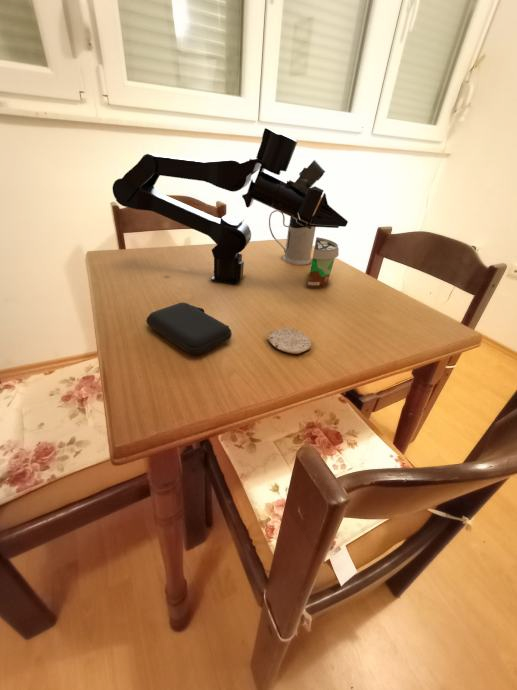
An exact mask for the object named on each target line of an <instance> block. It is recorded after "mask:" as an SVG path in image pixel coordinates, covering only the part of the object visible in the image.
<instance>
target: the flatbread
mask: <svg viewBox="0 0 517 690" xmlns="http://www.w3.org/2000/svg"><path fill="white" fill-rule="evenodd" d="M267 338H268V339H267V340H268V341H269V343H270V344H271V345H272V346H273V347H274V348H275V349H277V350H279V351H282V352H285V353H288V354H293V355H298V354H301V353H303V352H306V351H308V350H310V349H311V347H312V340H311V338H310V337H309V336H308V335H307V334H305V333H304V332H303V331H300V330H298V329H295V328H291V327H284V328H278V329H274V330H272V332H270V333H269V335H268V337H267Z"/></svg>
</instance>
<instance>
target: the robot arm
mask: <svg viewBox="0 0 517 690" xmlns="http://www.w3.org/2000/svg"><path fill="white" fill-rule="evenodd" d="M297 145H298V141H297V140H295V139H294V138H292V137H290V136H288V135H286V134H283V133H279V132H277V131H274V130H272V129H270V128H267V127H265V128H264V129H263V133H262V137H261V142H260V145H259V149H258V150H257V154H256V157H250V158H249V160H244V159H242V158H230V159H221V160H210V161H209V160H201V159H193V158H186V157H185V158H184V157H177V156H170V155H169V156H168V155H162V154H159V153H146V154H144V155H143V156H142V157H141V158H140V159H139V161H138V162H137V163H136V164H135V165H134V166H133V167H131V168H130V169H129V170H128V171H127V172H126V173H125V174H124V175H123V176H122V177H121V178H120V177H119V178H117V179H116V180H115V181H114V182H113V184H112V188H111V189H112V195H113V197H114V199H115V201H116V203H118V204H119V205H120V206H122V207H125V208H129V209H133V210H137V211H147V212H153V213H156V214H157V215H159V216H162V217H165V218H167V219H169V220H171V221H174V222H176V223H178V224H180V225H183V226H185V227H187V228H190V229H192V230H195V231H197V232H199V233H201V234H204V235H206V236H208V237H209V238H210V239H211V240H212V241H213V242H214V243H215V244H216V245H214V247H213V248H212V249H211V253H212V256H213V276H212V277H211V281H213V282H217V283H223V284H224V283H225V284H230V285H237V284H238V283H239V282H240V281H241V280H242V279H243V277H244V268H245V267H244V265H245V261H244V260H243V254H242V253H241V252H243V251H244V250H245V248H246V247H247V246H248V244H249V243H250V242H251V239H252V232H251V229H250V226H249V225H248V224H247V223H245V222H244V219H243V218H237V217H235V216H234V215H232V214H230V213H228V212H227V213H226V214H224V215H223V216H222V217H221V218H220V217H216V216H214V215H211V214H208V213H207V212H205V211H202V210H199V209H198V208H195V207H193V206H191V205H188V204H186V203H183V202H182V201H179V200H177V199H174V198H172V197H171V196H168V195H165V194H163V193H162V192H160V191H159V189H157V188H156V187H155V185H156V183H157V182H158V180H159V178H160V177H161V176H162V177H169V178H176V179H184V180H192V181H198V182H199V181H200V182H205V183H208V184H210V185H212V186H214V187H217V188H218V189H219V188H220V189H222V190H225V191H229V192H233V193H234V192H238V191H241V190H242V189H244V188H246V187H248V188H247V191H246V193H243V194H242V195H241V197H242V199H243V201H244V204H245V207H246V208H248V209H249V208H250V207H251V206H252V205H253V203H254V201H256V202H259V203H260V204H263V205H265V206H267V207H269V208H272V209H273V210H276V212H278V213H280V212H282V213H283V214H284V215H286V216H289V217H293V219H296V222H297V223H298V224H300V225H302V226H304V225H305V223H307V224H306V227H316V228H330V229H331V228H332V229H338V228H339V227H347V225H348V223H349V221H348V220H347V219H346V218H345V217H343V216H342V215H341V214H340V213H338V211H336V210H335V209H334V208H332V207H331V206H330V205H329V203H328V200H327V195H326V192H324V189H322V188H320V187H317V186H316V185H315V183H316V182H317V181H319V180H320V179H321V178H322V177H323V176H324V174H325V173H326V170H325V169H324V168H323V167H322V166H321V165H320V163H318V161H316V159H313V160H312V162H311V163H310V164H309V165H308V166H307V167H303V168H302V170H301V171H300V172H298V173H299V174H298V175H299V177H298V178H297V179H296V180H295V181H292V180H291V179H290V180H287V181H285V180H283V179H280V178H278V177H276V176H274V175H277V176H280V175H281V172H287V170H288V168H289V165H290V163H291V160H292V158H293V155H294V153H295V150H296V147H297ZM265 170H266V171H268V172H269V173H268V172H266V171H265ZM256 172H258V173H257V175H256V178H255V179H254V178H252V176H253V175H254V174H255V173H256ZM270 173H272V174H274V175H272V174H270ZM248 185H249V186H248ZM313 185H314V186H313ZM282 213H281V214H282Z"/></svg>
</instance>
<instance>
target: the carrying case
mask: <svg viewBox="0 0 517 690" xmlns="http://www.w3.org/2000/svg"><path fill="white" fill-rule="evenodd" d="M146 324H147V325H148V327H150V328H151V329H152V330H154V331H155V332H156V333H158V334H160V335H161V336H163V338H165V339H167V340H168V341H169V342H171V343H172V344H174V345H175V346H177V348H179V349H181V350H183V351H184V352H185V353H187V354H189V355H190V356H199V355H202V354H203V353H206V352H208V351H209V350H211V349H213V348H217V346H220V345H222V344H224V343H226V342H227V341H229V340H230V339H231V338H232V335H233V332H232V330H231V328H230V326H229V325H227V324H225V323H224V322H222V321H220V320H218V319H216V318H215V317H213V316H211V315H209V314H208V313H206V312H205V309H204V308H203V307H198V306H195V305H191V304H190V303H188V302H179V303H175V304H172V305H169V306H167V307H164V308H161V309H158V310H155V311H153V312H151V313H150V314H149V315H148V316H147V317H146Z"/></svg>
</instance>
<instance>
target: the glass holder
mask: <svg viewBox="0 0 517 690" xmlns="http://www.w3.org/2000/svg"><path fill="white" fill-rule="evenodd" d="M275 212H277V211H276V209H273V211H271V212H270V213H269V217H268V227H269V228H268V229H269V231H270V234H271V237H272V238H273V239H274V240H275V241H276V243H277V244H278V245H279V246H280V247H281V248H282V249H283V258H282V260H283V261H285V263H288V264H292V265H300V266H302V265H309V264H312V259H311V257H312V252H313V251H312V250H313V245H314V240H315V233H316V229H317V227H306V224H307V223H305V225H304V226H302V225H300V224H298V223H297V222H296V219H293V217H291V216H289V217H290V218H289V223H288V225H286V224H285V214H284V213H282V212H279V213H280V214H281V215H282V225H283V226H284V227H285V228H287V235H286V245H285V246H284V245H283V244H282V243H281V242H280V241H279V240H278V239H277V238H276V236H275V235H274V233H273V230H272V227H271V218H272V215H273V214H274V213H275Z"/></svg>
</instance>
